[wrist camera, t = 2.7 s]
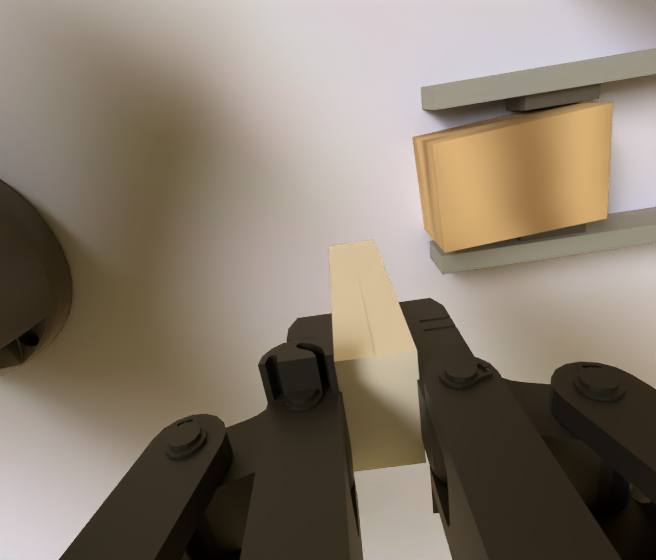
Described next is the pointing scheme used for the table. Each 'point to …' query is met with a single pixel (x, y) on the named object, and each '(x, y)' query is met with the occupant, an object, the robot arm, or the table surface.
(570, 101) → the chute
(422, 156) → the oak block
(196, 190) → the table surface
